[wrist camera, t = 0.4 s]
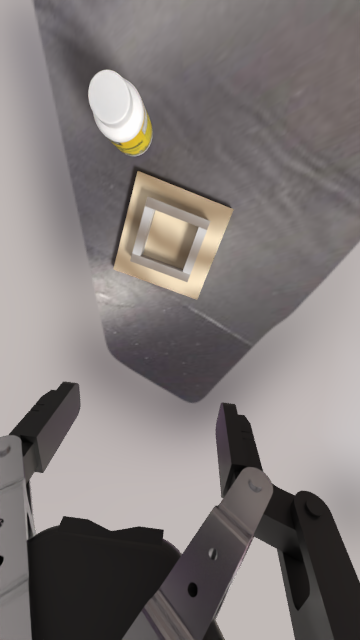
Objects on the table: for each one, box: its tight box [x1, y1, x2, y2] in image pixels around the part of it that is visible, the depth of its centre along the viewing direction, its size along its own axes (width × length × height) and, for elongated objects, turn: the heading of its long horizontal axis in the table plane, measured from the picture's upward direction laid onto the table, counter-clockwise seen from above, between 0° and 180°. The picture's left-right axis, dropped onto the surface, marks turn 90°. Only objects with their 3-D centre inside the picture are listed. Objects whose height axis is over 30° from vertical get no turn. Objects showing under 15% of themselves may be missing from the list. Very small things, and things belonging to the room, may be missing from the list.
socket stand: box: [114, 171, 234, 299], centre depth 35 cm, size 14×14×3 cm
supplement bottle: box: [88, 70, 153, 156], centre depth 27 cm, size 5×5×10 cm
